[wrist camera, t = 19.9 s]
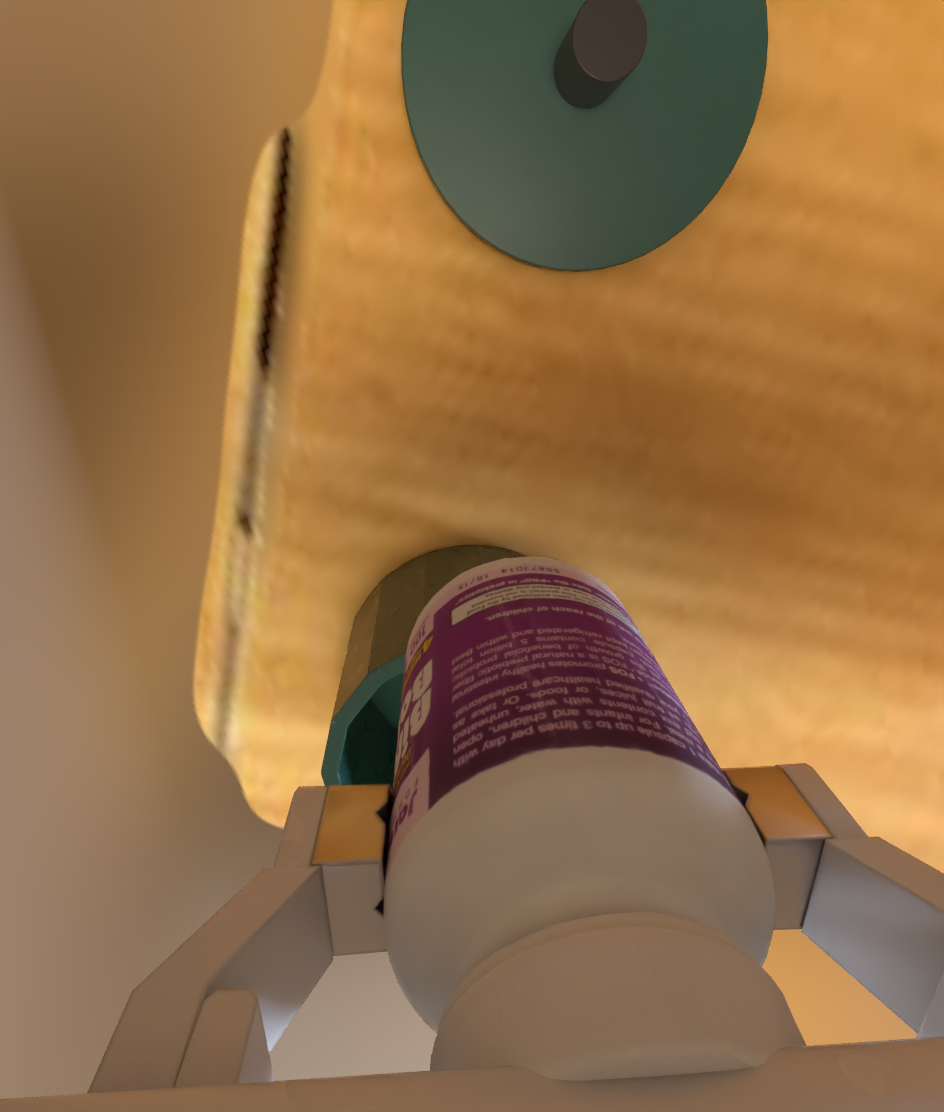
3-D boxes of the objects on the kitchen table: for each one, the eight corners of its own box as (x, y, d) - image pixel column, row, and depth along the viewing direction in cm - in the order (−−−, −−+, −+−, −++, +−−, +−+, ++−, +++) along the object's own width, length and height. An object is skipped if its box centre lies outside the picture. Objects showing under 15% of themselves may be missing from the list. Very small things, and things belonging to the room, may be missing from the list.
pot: (442, 495, 32) (447, 570, 24) (637, 629, 36) (704, 736, 27) (303, 683, 36) (263, 809, 27) (493, 787, 40) (512, 927, 31)
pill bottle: (371, 585, 14) (263, 1083, 5) (608, 520, 14) (919, 930, 5) (441, 773, 16) (448, 1362, 7) (648, 719, 16) (921, 1264, 7)
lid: (551, -271, 22) (580, -408, 18) (826, 34, 26) (906, -18, 22) (333, 122, 26) (315, 88, 22) (601, 338, 30) (630, 346, 26)
